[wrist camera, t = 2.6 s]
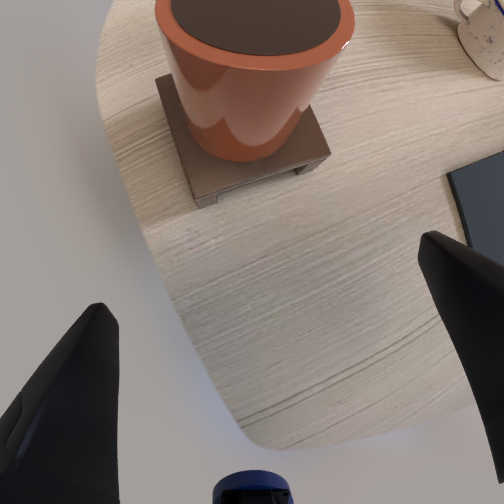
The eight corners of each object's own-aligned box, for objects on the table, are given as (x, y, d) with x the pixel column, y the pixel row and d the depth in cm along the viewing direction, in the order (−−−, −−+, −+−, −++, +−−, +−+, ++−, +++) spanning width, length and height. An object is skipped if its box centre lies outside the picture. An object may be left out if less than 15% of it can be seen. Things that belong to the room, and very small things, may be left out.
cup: (293, 168, 16) (363, 89, 7) (177, 157, 15) (130, 65, 6) (297, 73, 16) (346, -33, 7) (194, 63, 15) (179, -52, 6)
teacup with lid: (500, 50, 22) (551, 18, 11) (508, 97, 22) (572, 66, 11) (433, -2, 21) (480, -51, 10) (435, 39, 21) (497, -17, 10)
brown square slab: (200, 209, 19) (194, 199, 16) (165, 106, 19) (154, 78, 15) (312, 170, 20) (332, 154, 16) (270, 74, 20) (279, 44, 16)
